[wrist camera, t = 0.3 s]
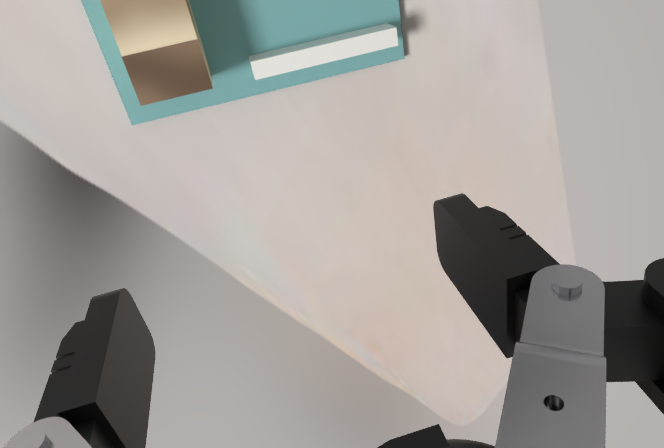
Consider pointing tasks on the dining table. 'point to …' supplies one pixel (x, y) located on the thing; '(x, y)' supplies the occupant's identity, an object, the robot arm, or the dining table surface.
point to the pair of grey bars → (323, 50)
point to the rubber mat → (253, 46)
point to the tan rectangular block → (159, 47)
